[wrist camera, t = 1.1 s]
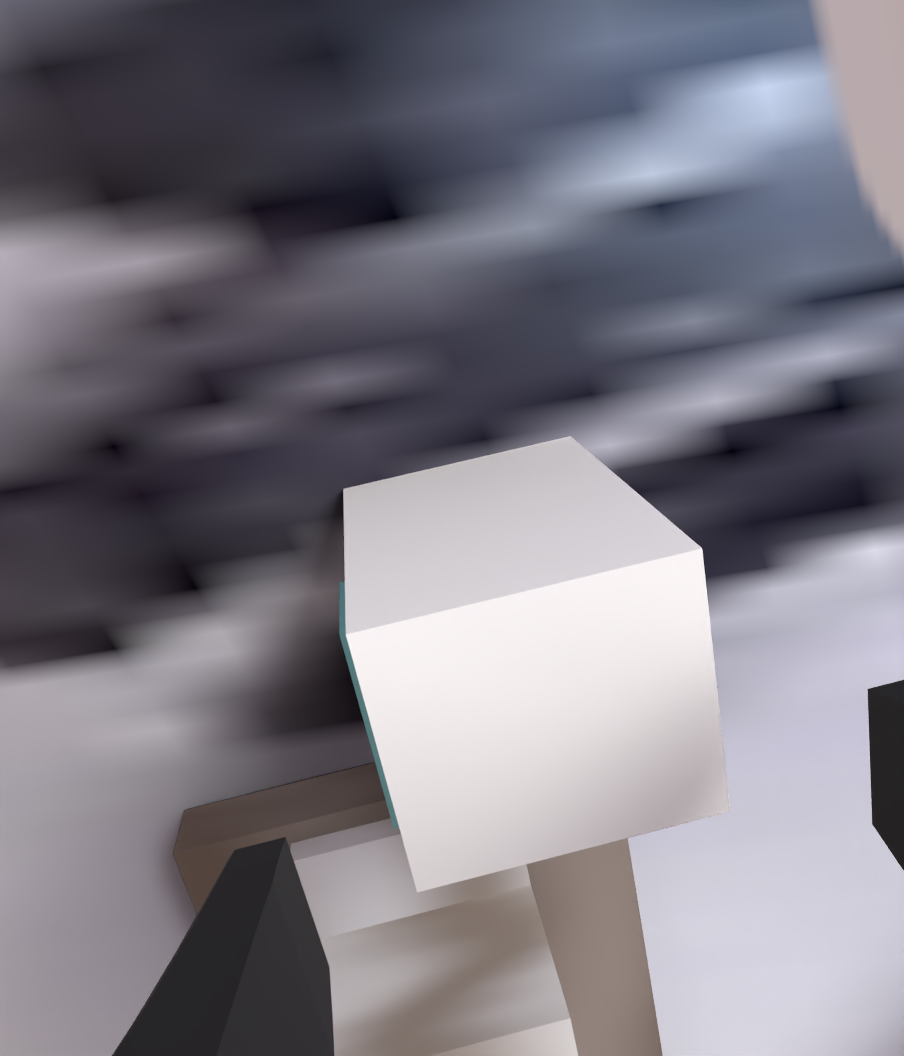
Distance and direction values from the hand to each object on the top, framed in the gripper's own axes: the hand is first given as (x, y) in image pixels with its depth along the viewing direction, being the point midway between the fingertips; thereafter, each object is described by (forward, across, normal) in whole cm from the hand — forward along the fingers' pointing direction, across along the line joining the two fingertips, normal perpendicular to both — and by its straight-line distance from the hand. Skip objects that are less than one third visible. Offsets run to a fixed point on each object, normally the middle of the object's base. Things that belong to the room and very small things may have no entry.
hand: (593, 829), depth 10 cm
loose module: (+9, 0, 0) cm, 9 cm away
